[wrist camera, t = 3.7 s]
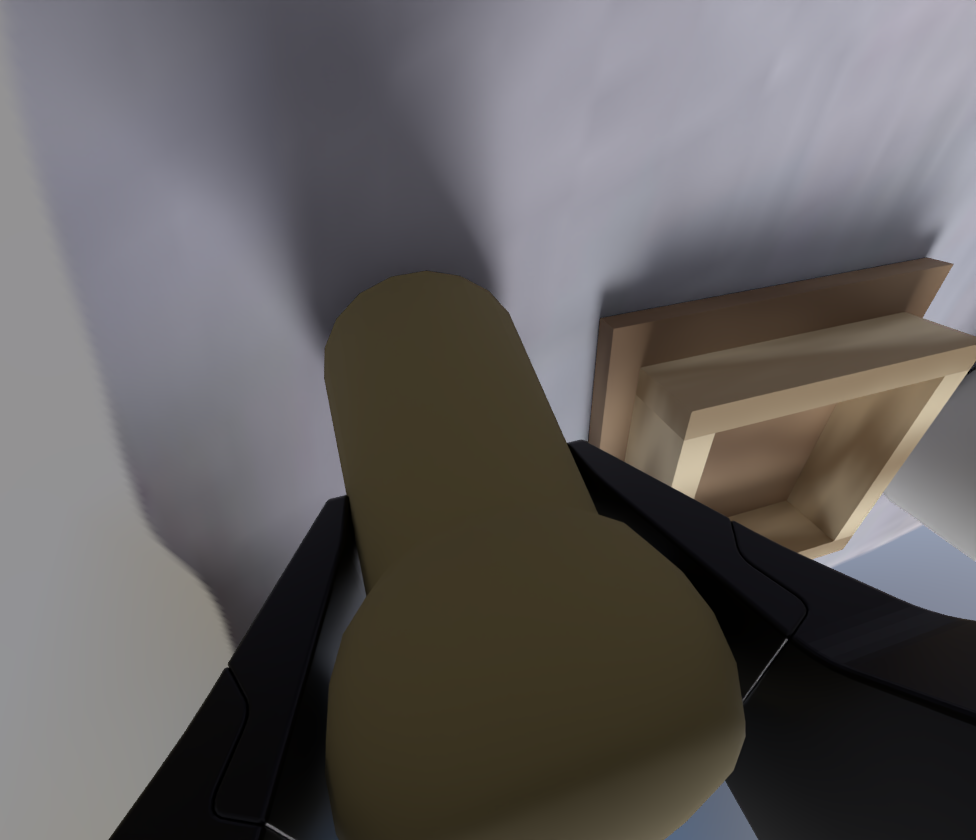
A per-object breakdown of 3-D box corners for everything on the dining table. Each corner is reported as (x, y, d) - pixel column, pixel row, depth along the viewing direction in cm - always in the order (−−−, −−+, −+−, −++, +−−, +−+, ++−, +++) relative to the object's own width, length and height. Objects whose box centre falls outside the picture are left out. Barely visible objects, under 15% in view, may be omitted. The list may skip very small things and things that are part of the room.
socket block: (790, 511, 27) (847, 562, 24) (575, 574, 25) (609, 641, 22) (926, 257, 18) (1051, 287, 15) (599, 318, 15) (665, 370, 12)
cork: (280, 314, 11) (16, 1059, 2) (497, 240, 11) (988, 632, 3) (374, 471, 15) (411, 980, 6) (535, 411, 15) (789, 807, 6)
